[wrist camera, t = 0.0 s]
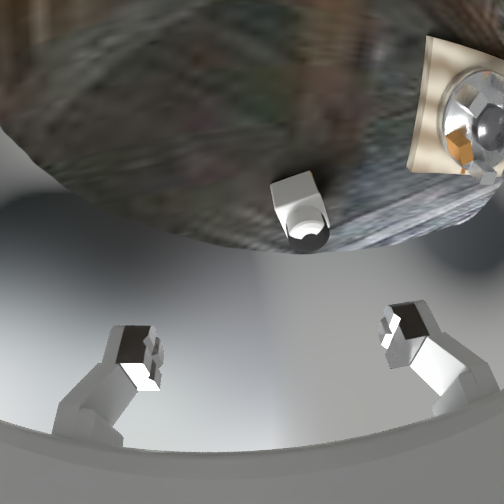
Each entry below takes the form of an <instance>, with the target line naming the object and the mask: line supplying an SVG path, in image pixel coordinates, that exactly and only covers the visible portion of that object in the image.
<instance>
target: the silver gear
mask: <svg viewBox="0 0 504 504" xmlns="http://www.w3.org/2000/svg"><path fill="white" fill-rule="evenodd" d="M436 126H437V134H438V138H439V141H440V143H441V146H442V148H443V149H444V151H445V152H446V153H447V154H448V155H449V156H450V157H451V158H452V159H453V160H454V161H455V162H456V163H457V164H458V165H459V166H460V167H462V168H463V169H465V170H468V172H469V173H470V174H471V175H472V176H473V177H474V179H475V180H476V181H477V182H478V183H479V184H486V185H493V184H494V181H495V179H496V176H497V172H496V171H495V170H494V169H493V167H495V166H496V165H498V164H499V163H500V162H502V161H503V160H504V75H501V74H499V73H497V72H495V71H493V70H490V69H488V68H485V67H472V68H468V69H466V70H464V71H462V72H460V73H459V74H458V75H456V76H455V77H454V78H453V79H452V80H451V82H450V83H449V84H448V86H447V87H446V89H445V90H444V92H443V95H442V97H441V99H440V102H439V106H438V110H437V119H436Z"/></svg>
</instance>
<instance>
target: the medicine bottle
mask: <svg viewBox="0 0 504 504" xmlns="http://www.w3.org/2000/svg"><path fill="white" fill-rule="evenodd" d="M270 187H271V192H272V198H273V203H274V208H275V211H276V213H277V215H278V218H279V220H280V222H281V224H282V227H283V229H284V231H285V233H286V236H287V238H288V241H289V244H290V245H291V247H293V248H294V249H295V250H298V251H301V252H312V251H315V250H318V249H319V248H321V247H322V246H323V245H324V244H325V243H326V242H327V240H328V238H329V234H330V233H329V229H328V228H329V227H330V223H329V220H328V217H327V213H326V210H325V207H324V204H323V201H322V197H321V194H320V192H319V189H318V187H317V184H316V182H315V180H314V177H313V175H312V172H311V171H306V172H303V173H300V174H298V175H295V176H292V177H289V178H286V179H283V180H280V181H278V182H275V183H272V184H271V185H270Z"/></svg>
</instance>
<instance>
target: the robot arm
mask: <svg viewBox="0 0 504 504" xmlns="http://www.w3.org/2000/svg"><path fill="white" fill-rule="evenodd" d="M384 314H385V317H384V318H383V319H382V320H381V321H380V324H379V338H380V341H381V344H382V345H383V346H384V347H385V348H387V351H386V354H385V355H386V358H387V361H388V364H389V367H390V369H393V368H398V367H403V366H408V365H410V367H411V368H412V369H413V370H414V371H415V372H416V373H417V374H418V375H419V376H420V377H421V378H422V379H424V380H425V381H426V382H427V383H428V384H429V385H430V386H431V387H432V388H433V389H434V390H435V391H436V392H437V393H438V394H439V395H440V396H441V397H440V398H439V399H438V400H437V401H436V402H435V403H434V405H433V406H432V410H433V413H434V417H431V418H428V419H425V420H422V421H419V422H416V423H412V424H408V425H405V426H401V427H398V428H394V429H390V430H386V431H382V432H378V433H374V434H369V435H365V436H360V437H355V438H350V439H345V440H340V441H334V442H328V443H322V444H315V445H309V446H301V447H293V448H283V449H272V450H260V451H242V452H175V451H158V450H146V449H135V448H126V447H122V446H123V436H122V435H121V434H120V433H119V432H118V431H116V430H115V429H114V428H113V427H112V426H113V425H114V424H115V422H116V421H117V419H118V418H119V417H120V415H121V414H122V413H123V411H124V410H125V408H126V407H127V406H128V404H129V403H130V402H131V400H132V399H133V397H134V396H135V395H136V393H137V392H138V390H160V382H161V373H160V371H159V367H161V365H162V364H163V358H164V354H163V346H162V342H161V340H160V339H159V338H157V337H156V333H157V331H156V329H155V327H154V326H120V325H114V326H113V327H112V329H111V331H110V334H109V338H108V341H107V345H106V348H105V353H104V356H103V360H102V363H98V364H97V365H96V366H95V367H94V368H93V369H92V370H91V371H90V372H89V373H88V374H87V375H86V376H85V377H84V378H83V379H82V380H81V381H80V382H79V383H78V384H77V385H76V386H75V387H74V388H73V389H72V390H71V391H70V392H69V394H68V395H67V396H66V397H65V398H64V399H63V400H62V401H61V402H60V403H59V405H58V409H57V413H56V417H55V421H54V426H53V430H52V434H47V433H44V432H40V431H36V430H32V429H28V428H25V427H21V426H18V425H15V424H11V423H8V422H5V421H2V420H0V504H504V389H503V390H501V391H500V389H499V387H498V384H497V382H496V380H495V378H494V376H493V373H492V371H491V369H490V367H489V365H488V363H487V362H485V361H484V360H483V359H481V358H480V357H478V356H477V355H476V354H474V353H473V352H471V351H470V350H469V349H468V348H466V347H465V346H463V345H462V344H461V343H459V342H458V341H457V340H455V339H454V338H452V337H451V336H450V335H448V334H447V333H445V332H444V333H442V332H441V330H440V328H439V326H438V324H437V322H436V320H435V318H434V316H433V315H432V313H431V311H430V309H429V307H428V305H427V303H426V302H425V301H424V300H419V301H413V302H405V303H399V304H393V305H387V306H386V307H385V310H384Z"/></svg>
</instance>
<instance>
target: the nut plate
mask: <svg viewBox="0 0 504 504" xmlns="http://www.w3.org/2000/svg"><path fill="white" fill-rule="evenodd" d="M472 67H485V68H488V69H490V70H493V71H495V72H497V73H499V74H501V75H504V60H502V59H499V58H497V57H494V56H492V55H489V54H486V53H483V52H481V51H478V50H475V49H472V48H469V47H466V46H463V45H459V44H456V43H453V42H449V41H446V40H442V39H439V38H435V37H431V36H426V48H425V58H424V67H423V76H422V83H421V91H420V97H419V104H418V110H417V116H416V122H415V127H414V133H413V138H412V143H411V148H410V153H409V157H408V162H407V168H408V169H409V170H410V171H411V172H424V173H450V174H469V175H471V174H470V173H469V172H468V170H465V169H463V168H462V167H460V166H459V165H458V164H457V163H456V162H455V161H454V160H453V159H452V158H451V157H450V156H449V155H448V154H447V153H446V152H445V151H444V149H443V148H442V146H441V143H440V141H439V138H438V134H437V126H436V119H437V110H438V106H439V102H440V99H441V97H442V95H443V92H444V90H445V89H446V87H447V86H448V84H449V83H450V82H451V80H452V79H453V78H454V77H455V76H456V75H458V74H459V73H460V72H462V71H464V70H466V69H468V68H472ZM493 169H494V170H495V171H496V172H497V177H501V175H502V172H503V169H504V160H503V161H502V162H500V163H499V164H498V165H496V166H495V167H493Z"/></svg>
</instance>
